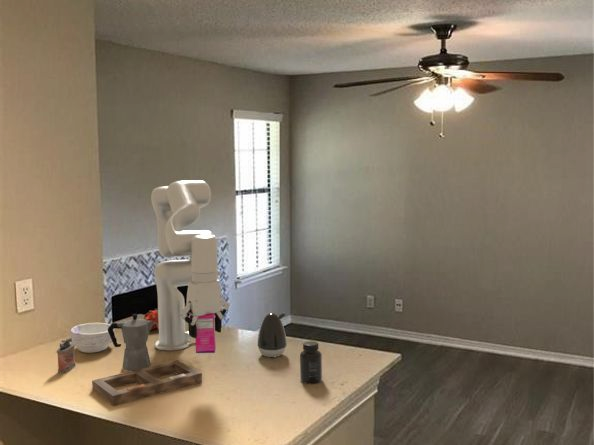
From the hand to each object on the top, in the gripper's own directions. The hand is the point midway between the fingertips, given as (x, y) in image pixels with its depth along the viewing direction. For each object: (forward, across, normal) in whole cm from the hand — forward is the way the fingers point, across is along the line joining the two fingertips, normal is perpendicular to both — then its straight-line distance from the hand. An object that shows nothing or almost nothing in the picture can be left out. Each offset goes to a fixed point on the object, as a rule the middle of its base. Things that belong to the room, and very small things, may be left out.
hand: (205, 333), depth 195 cm
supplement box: (+5, 0, 0) cm, 5 cm away
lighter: (+19, +26, -45) cm, 55 cm away
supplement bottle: (+18, -30, +14) cm, 37 cm away
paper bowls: (+20, +11, -60) cm, 64 cm away
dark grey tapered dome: (+18, -35, -13) cm, 41 cm away
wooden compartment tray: (+18, +12, -14) cm, 26 cm away
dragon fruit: (+20, -18, -69) cm, 74 cm away
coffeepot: (+19, +8, -33) cm, 39 cm away
